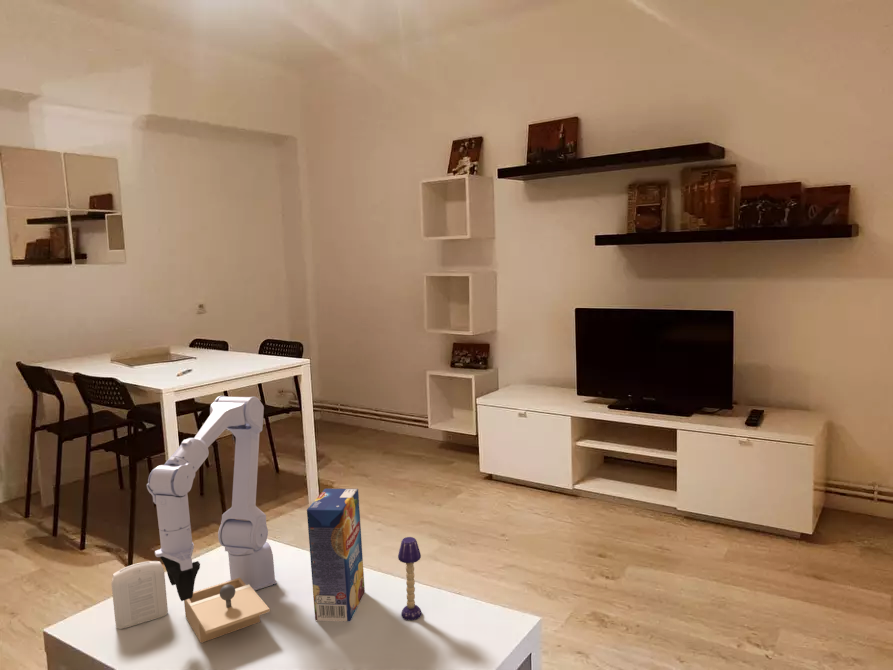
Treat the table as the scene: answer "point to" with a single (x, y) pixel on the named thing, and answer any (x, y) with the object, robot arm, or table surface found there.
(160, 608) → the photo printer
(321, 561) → the juice carton
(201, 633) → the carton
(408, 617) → the toy lamp
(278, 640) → the table surface
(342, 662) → the table surface
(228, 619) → the lid
